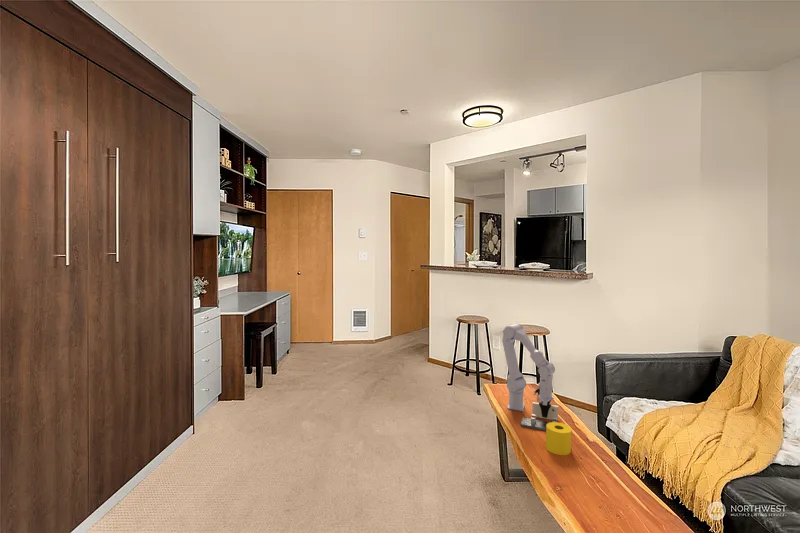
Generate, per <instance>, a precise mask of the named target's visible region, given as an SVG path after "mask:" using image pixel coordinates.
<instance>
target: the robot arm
mask: <svg viewBox="0 0 800 533" xmlns="http://www.w3.org/2000/svg"><path fill="white" fill-rule="evenodd" d="M502 333H503V334H502V339H501V340H502V345H503V351H504V356H505V359H506V360H505V361H506V365H507V370H508V375H507V377H506V380H507V383H506V388H507V389H508V392H509V393H508V405H507V408H506V409H509V410H514V411H518V412H524V408H525V406H526V403H524V391H525V390H524V389H525V388H526V387H527V381H526V379H525V378H524V374H523V373H521V371H520V366H519V363H518V358H517V353H516V349H515V346H514V345H515V344H514V342H515V341H520V342H521V344H522V345H523V346H524V348H526V350H527V351H528V352H529V353H530V355H529V356H530V357H529V358H530V359H532V361H533V363H534V365H535V366H536V367H537V368H538V369H537V372H538V374H539V376H540V377H539V383H540V395H539V397H540V399H541V401H542V402H539V406H540V408H541V412H542V417H545V418H547V415H548V411H549V409H550V407H551V405H552V404H550V403H551V401H552V400H555V396H553V374H554V373H555V371H556V368H555V365H554V363H552V362H549V360H547V359H546V357H545V356H544V353H543V351H540V350H539V349H537V348H536V347H535V346H534V344H533V342H532V340H531V339H530V338H529V336H528V335H527V331H526V329H524V327H523V326H522V324H520V323H516V324H511V325H507V326H505V327H504V329H503V330H502ZM545 418H544V419H545Z"/></svg>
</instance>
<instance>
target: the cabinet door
mask: <svg viewBox="0 0 800 533" xmlns="http://www.w3.org/2000/svg"><path fill="white" fill-rule="evenodd" d="M532 414H533V415H536V418H541V419H547V420H552V421H553V418H556V419H557V422H558V421H559V405H555V404H551V407H550V409H549V411H548V415H547V418H545V417H542V412H541V408H540V406H539V403H537V401H536V402H535V401H533V402H532ZM532 414H531V415H532Z"/></svg>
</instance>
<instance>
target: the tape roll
mask: <svg viewBox="0 0 800 533" xmlns="http://www.w3.org/2000/svg"><path fill="white" fill-rule="evenodd" d="M549 422H550V421H549ZM545 432H546V433H545V448H546V450H547V451H548V452H550V453H551V454H554V455H558V456H559V455H560V456H567V455H570V454H571V453H572V434H573V433H572V432H573V429H572V427H571V426H569V424H566V423H563V422H558V421H557V422H552V421H551V422H550V423H548V424H547V425H546V431H545Z"/></svg>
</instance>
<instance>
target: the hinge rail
mask: <svg viewBox="0 0 800 533" xmlns="http://www.w3.org/2000/svg"><path fill="white" fill-rule="evenodd" d="M551 422H558V421H557V419H556V418H553V420H552V421H551ZM548 423H550V421H546V420H541V419H540V420H539V419H537V417H536V415H533V414H531V417H529V418H528V417H522V420H521V423H520V427H521V428H527V429H533V430H539V431H544V432H546V425H547V424H548Z"/></svg>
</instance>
